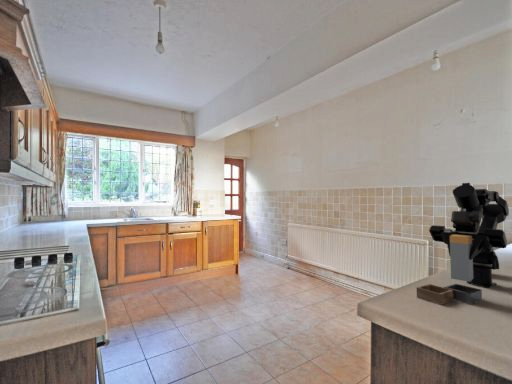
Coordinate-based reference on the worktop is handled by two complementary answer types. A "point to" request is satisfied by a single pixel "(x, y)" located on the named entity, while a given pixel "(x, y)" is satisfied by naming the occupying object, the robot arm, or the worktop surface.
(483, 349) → the worktop surface
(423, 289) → the square frame
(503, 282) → the worktop surface
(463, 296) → the socket
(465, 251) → the plug
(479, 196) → the robot arm
